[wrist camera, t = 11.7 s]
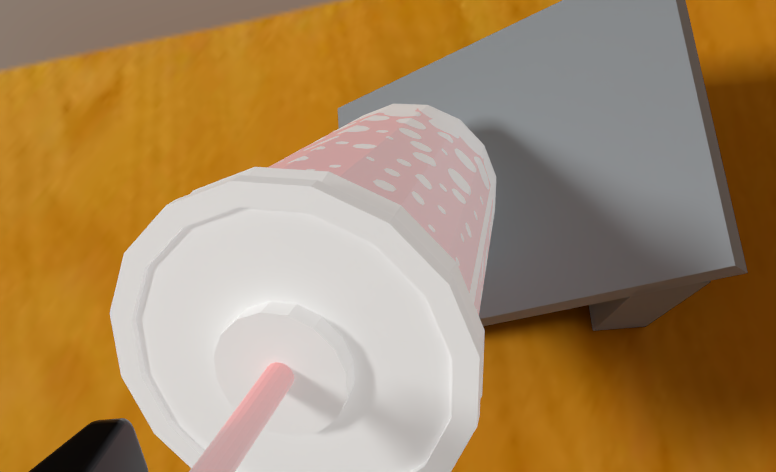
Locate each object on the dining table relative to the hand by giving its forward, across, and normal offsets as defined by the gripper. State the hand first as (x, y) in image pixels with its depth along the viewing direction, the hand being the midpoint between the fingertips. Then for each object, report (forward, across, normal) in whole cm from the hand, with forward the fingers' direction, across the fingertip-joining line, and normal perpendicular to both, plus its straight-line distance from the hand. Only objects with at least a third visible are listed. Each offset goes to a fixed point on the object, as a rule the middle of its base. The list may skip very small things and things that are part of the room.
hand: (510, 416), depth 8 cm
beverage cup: (+11, +1, +2) cm, 12 cm away
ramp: (+15, -1, +5) cm, 15 cm away
